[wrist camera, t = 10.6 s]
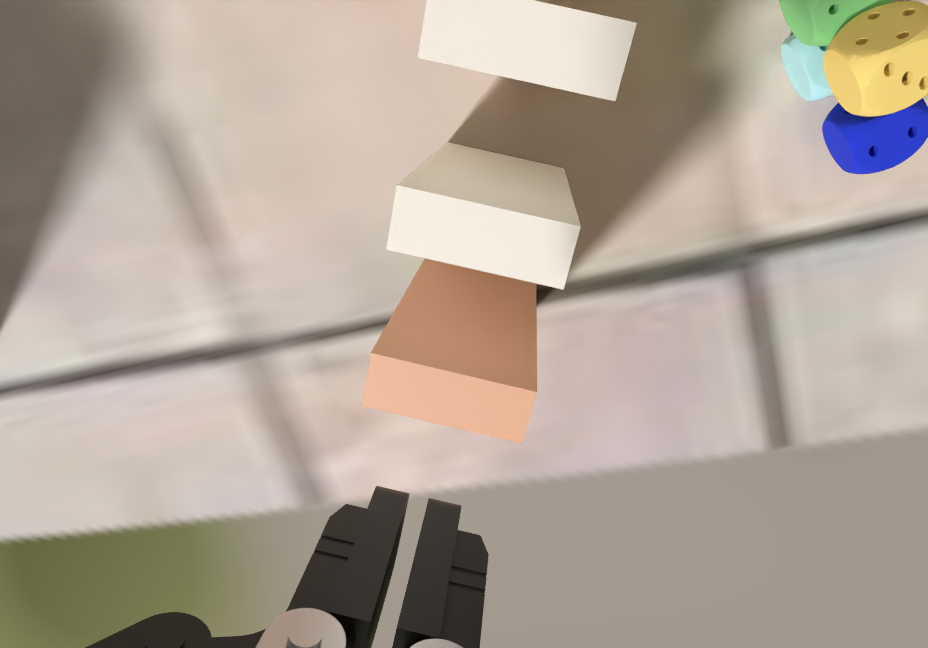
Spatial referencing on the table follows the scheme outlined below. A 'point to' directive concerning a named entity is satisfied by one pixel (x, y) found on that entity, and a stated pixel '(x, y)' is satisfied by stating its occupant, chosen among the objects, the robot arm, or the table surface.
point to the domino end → (459, 352)
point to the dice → (862, 75)
